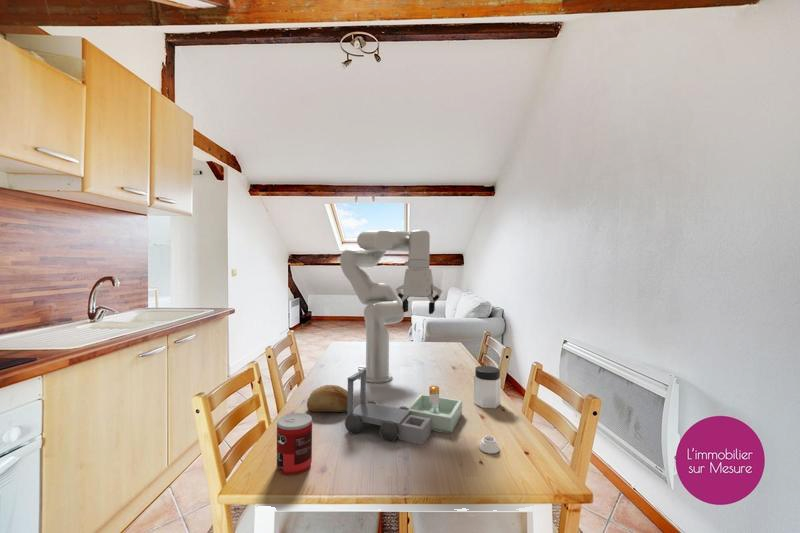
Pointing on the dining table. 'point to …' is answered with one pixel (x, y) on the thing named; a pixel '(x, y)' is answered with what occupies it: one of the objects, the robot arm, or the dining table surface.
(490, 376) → the jar
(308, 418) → the canned food
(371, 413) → the trolley
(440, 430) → the tray
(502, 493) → the dining table surface
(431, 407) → the stop pin
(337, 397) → the bread roll
